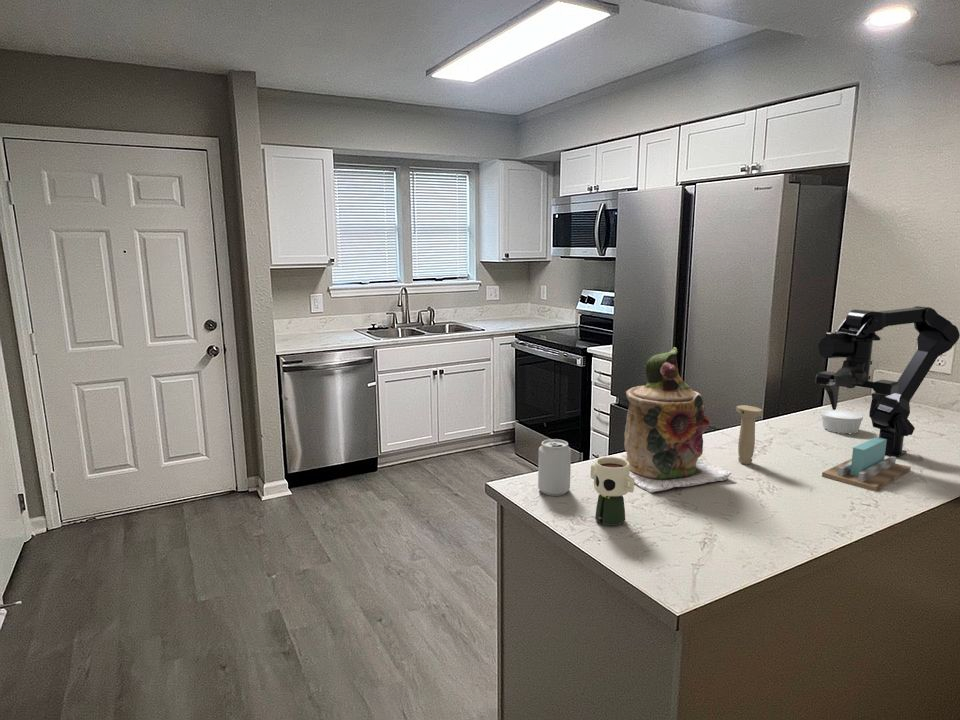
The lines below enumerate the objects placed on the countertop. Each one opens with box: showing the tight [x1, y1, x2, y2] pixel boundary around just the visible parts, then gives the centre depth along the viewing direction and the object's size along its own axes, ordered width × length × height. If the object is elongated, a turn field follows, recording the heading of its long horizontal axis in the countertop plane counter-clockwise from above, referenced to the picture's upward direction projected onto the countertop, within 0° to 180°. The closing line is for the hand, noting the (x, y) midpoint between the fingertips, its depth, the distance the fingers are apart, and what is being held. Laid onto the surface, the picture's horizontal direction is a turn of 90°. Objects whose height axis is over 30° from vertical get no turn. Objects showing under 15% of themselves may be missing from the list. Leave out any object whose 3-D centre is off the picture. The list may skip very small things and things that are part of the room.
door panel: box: [850, 436, 887, 476], centre depth 154 cm, size 14×2×7 cm, turn 127°
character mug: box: [590, 456, 635, 526], centre depth 127 cm, size 11×7×13 cm, turn 40°
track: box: [821, 455, 912, 492], centre depth 154 cm, size 22×12×3 cm, turn 127°
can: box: [537, 438, 572, 497], centre depth 143 cm, size 8×8×12 cm
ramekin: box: [820, 409, 864, 434], centre depth 191 cm, size 11×11×5 cm
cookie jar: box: [598, 346, 732, 493], centre depth 154 cm, size 25×25×32 cm
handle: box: [735, 404, 763, 465], centre depth 161 cm, size 5×6×15 cm
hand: (852, 413), depth 166 cm, fingers open, 9 cm apart
